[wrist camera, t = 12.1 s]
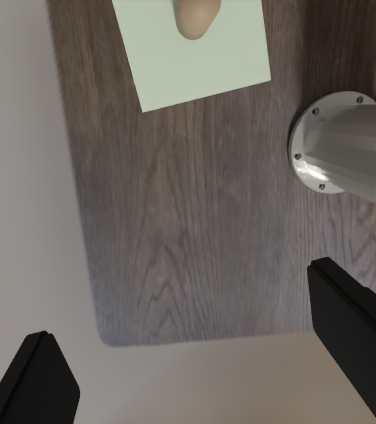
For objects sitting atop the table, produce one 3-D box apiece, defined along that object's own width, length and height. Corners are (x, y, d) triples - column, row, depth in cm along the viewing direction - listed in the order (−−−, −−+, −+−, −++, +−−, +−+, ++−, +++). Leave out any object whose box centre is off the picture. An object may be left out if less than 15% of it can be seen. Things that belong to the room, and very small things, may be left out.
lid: (246, -79, 26) (275, -136, 20) (267, 81, 30) (295, 74, 24) (100, -44, 26) (83, -91, 19) (143, 112, 30) (140, 113, 24)
